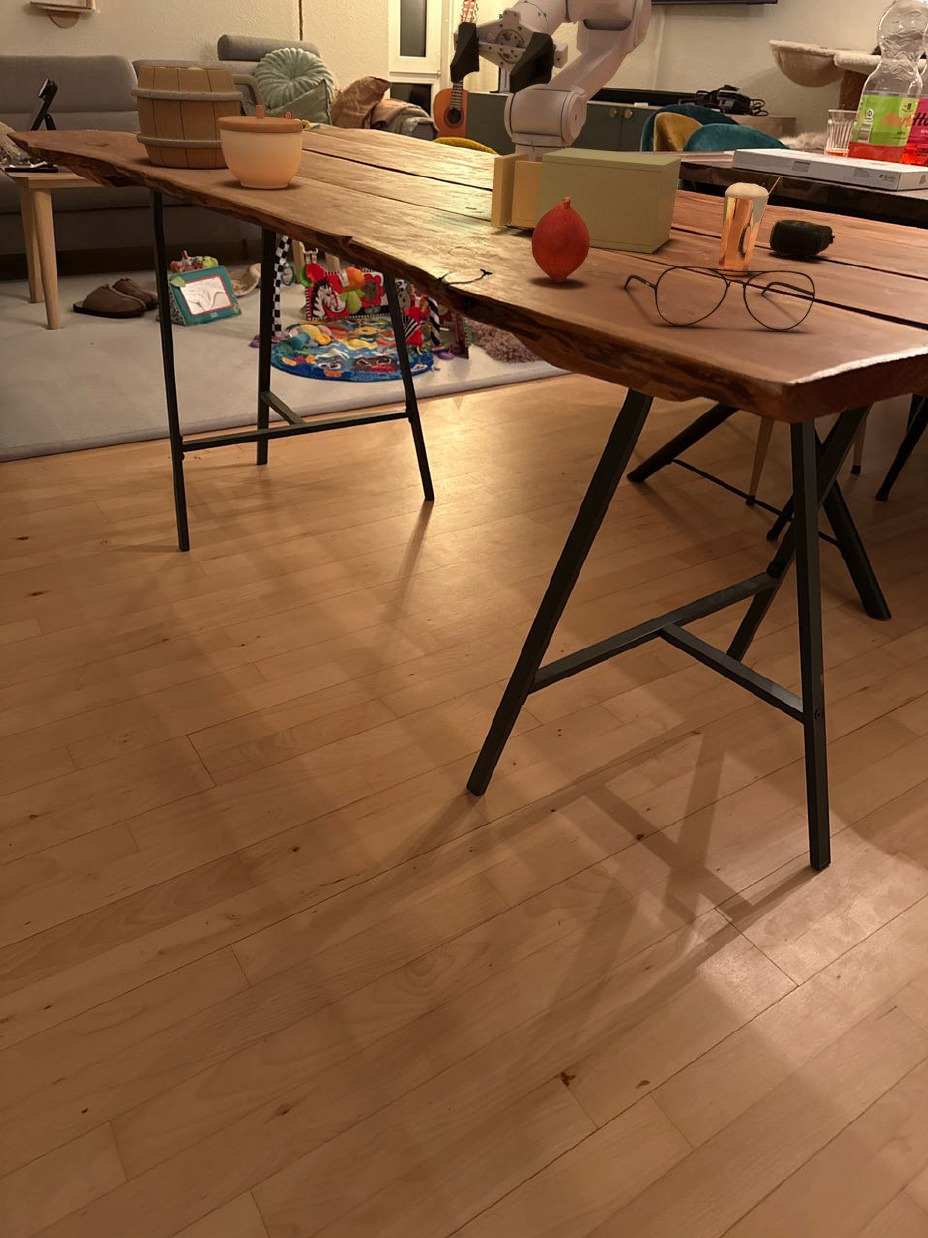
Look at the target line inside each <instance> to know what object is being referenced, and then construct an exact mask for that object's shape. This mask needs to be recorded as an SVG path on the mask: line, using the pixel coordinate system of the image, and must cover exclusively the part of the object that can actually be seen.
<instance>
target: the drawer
mask: <svg viewBox="0 0 928 1238" xmlns="http://www.w3.org/2000/svg"><path fill="white" fill-rule="evenodd" d="M493 159H494V160H493V163H494V164H493V173H492V192H491V193H492V194H491V208H490V209H491V210H490V211H491V212H490V227H493V228H501V227H503V226H506V225H508V224H510V226H515V227H523V228H525V227H526V228H531V229H532V228H533V229H535V227H536V225H537V214H538V201H539V189H540V177H541V165H542V156H536V159H535V162H530V161H529V152H518V153H515V152H514V153H509V154H504V155H501V156H495V157H494V158H493Z"/></svg>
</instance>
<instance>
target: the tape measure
mask: <svg viewBox="0 0 928 1238" xmlns="http://www.w3.org/2000/svg"><path fill="white" fill-rule="evenodd" d="M833 233H834V231H833V228H832V227H831V226H829V225H824V224H818V223H815V222H811V221H808V220H807V221H806V220H798V219H780V220H779V219H778V220H777V221H776V222H775V223H774V225H773V226H772V228H771V231H770V235H769V241H768V243H769V247H770V249H771V250H772V251H775V252H777V253H779V256H780V257H782V256H784V257H785V256H801V257H802V256H803V257H804V258H806V259H810V256H811V257H812V256H817V255H818V254H819V253H822V252H824V251H826V250H827V249H828V248H829V247H830V245H833V244H834V239H835V238H836V235H833Z"/></svg>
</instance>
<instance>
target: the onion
mask: <svg viewBox="0 0 928 1238" xmlns="http://www.w3.org/2000/svg"><path fill="white" fill-rule="evenodd" d="M590 248H591V246H590V237H589V232H588V229H587V227H586V224H585V223H584V221H583V219H582V218H581V217H580V215H579V214H578V213H577V212H575V211H574V210H573V209H572V207H571V200H570V197H565V198H563V200H562V201H561V202H560V203H559V204H558V205H557V206H556V207H555V208H553V209H551V210H550V211H549V212H547V213H546V214H545V215H544V216H543V217H542V218H541V219H540V221H539V222H538V224H537V225H536V227H535V228H534V230H533V232H532V238H531V253H532V257H533V259H534V261H535V263H536V264H537V266H538V267H539V268H540V270H541V271H543V272H544V273H545V274H546V275H547V276H548V277H549V278H550V279H551V280H552V281H553V282H555V283H563V282H564V281H565V280H566V279H567V278H568V277H569V276H570V275H571V274H573V273H574V272H575V271H577V270H578V269H579V268H580V267H581V265H583V264H584V262H585V260H586V259H587V258H588V254H589V251H590Z"/></svg>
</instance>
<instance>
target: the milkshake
mask: <svg viewBox="0 0 928 1238" xmlns="http://www.w3.org/2000/svg"><path fill="white" fill-rule="evenodd" d="M780 179H781V176H779V177H778V178H777V180H776V181H775V183H774V184H773V186H772V187H771V189H770V191H768V190H767V189H766V188H765V187H763V186H761V185H758V184H756V183H748V182H747V183H746V182H736V183H733V184H731V185H729V186H728V187H727V189H726V190H725V191H724V202H723V214H722V228H721V229H722V230H721V231H722V232H721V239H720V248H719V255H718V257H719V258H718V264H717V269H725V270H737V271H749V267H750V265H751V261H752V255H753V253H754V249H755V245H756V241H757V239H758V238H757V237H758V234H759V230H760V227H761V224H762V221H763V218H764V215H765V211H766V208H767V204H768V200H769V197H770V195H771V193H772V191H773V190H774V188H775V187H776V185H777V183H778V182H779V180H780ZM717 272H719V273H721V274H722V275H725V276H734V277H735V276H738V277H739V276H740V277H741V276H742V277H743V276H746V275H748V272H730V271H719V270H717Z"/></svg>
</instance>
